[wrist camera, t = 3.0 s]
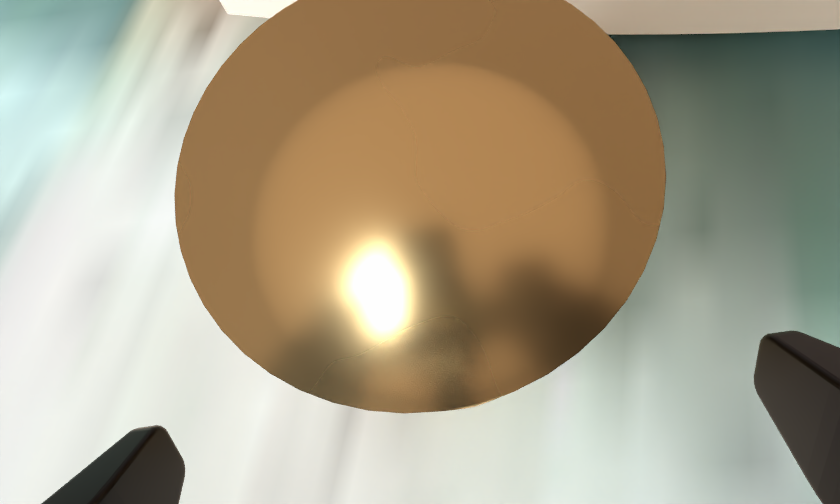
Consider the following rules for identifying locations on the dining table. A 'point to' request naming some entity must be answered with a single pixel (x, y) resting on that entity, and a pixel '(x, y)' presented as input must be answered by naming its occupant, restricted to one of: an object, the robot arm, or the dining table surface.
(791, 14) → the board
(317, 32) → the brass roller
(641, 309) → the dining table surface
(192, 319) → the dining table surface
